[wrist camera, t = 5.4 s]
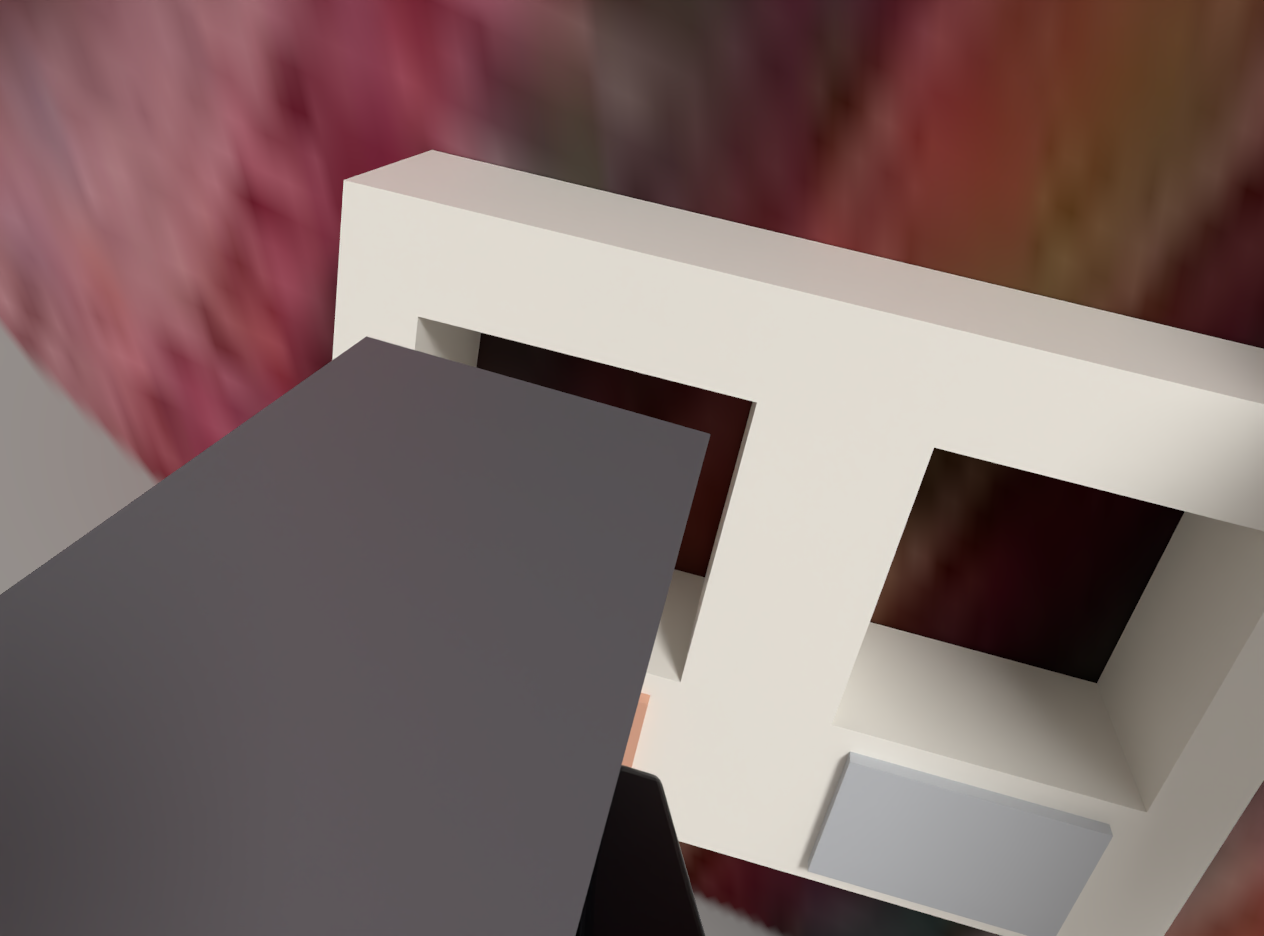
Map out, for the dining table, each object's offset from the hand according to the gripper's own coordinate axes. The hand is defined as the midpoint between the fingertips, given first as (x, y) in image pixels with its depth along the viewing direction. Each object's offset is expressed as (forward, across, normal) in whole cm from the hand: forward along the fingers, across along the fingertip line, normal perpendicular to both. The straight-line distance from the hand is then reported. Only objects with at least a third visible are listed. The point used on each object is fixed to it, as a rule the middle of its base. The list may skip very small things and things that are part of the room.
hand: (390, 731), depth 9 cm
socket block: (+13, -4, +4) cm, 14 cm away
